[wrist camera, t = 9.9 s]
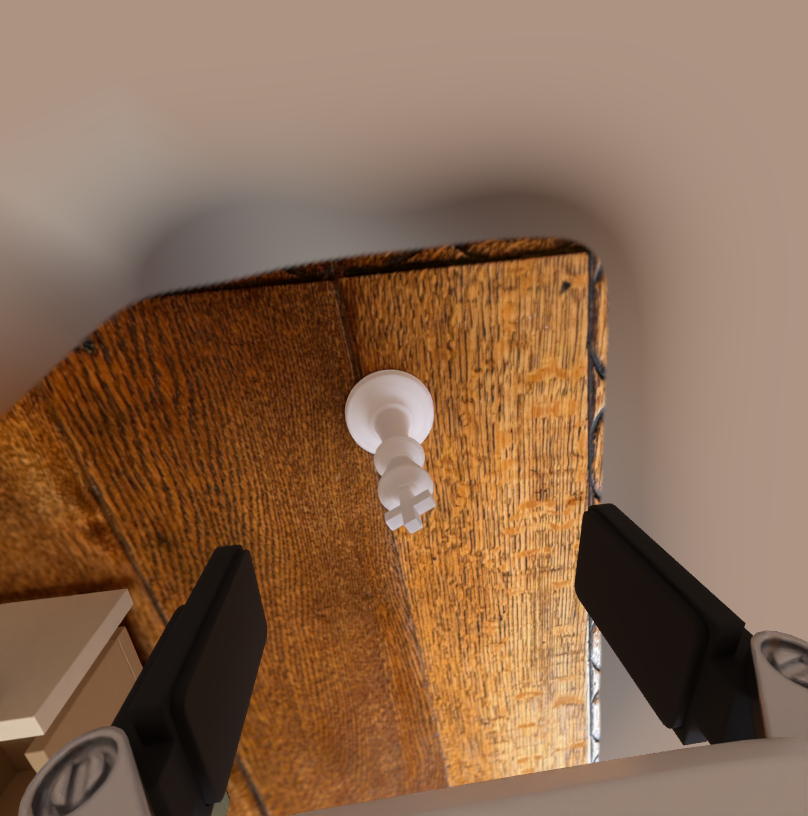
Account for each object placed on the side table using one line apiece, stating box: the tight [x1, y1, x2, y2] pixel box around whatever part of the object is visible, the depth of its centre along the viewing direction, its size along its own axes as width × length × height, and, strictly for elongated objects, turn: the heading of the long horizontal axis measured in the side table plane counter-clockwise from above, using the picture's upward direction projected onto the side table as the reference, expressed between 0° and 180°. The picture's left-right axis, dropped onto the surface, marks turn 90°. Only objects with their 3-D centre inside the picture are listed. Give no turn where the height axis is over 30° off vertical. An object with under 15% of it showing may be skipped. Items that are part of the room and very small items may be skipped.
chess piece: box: [345, 370, 436, 534], centre depth 16 cm, size 5×5×10 cm
